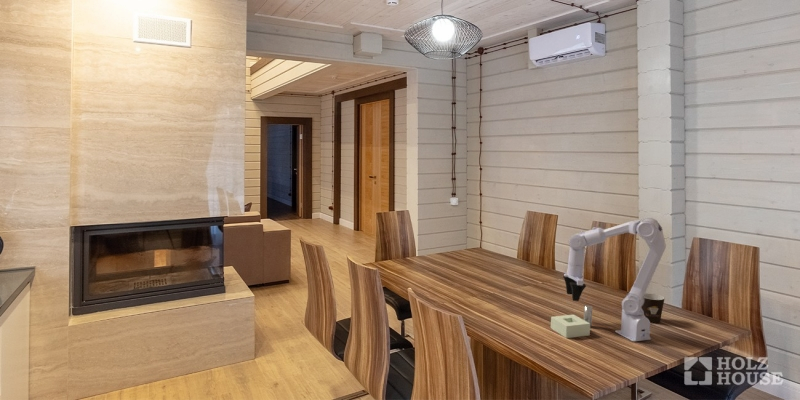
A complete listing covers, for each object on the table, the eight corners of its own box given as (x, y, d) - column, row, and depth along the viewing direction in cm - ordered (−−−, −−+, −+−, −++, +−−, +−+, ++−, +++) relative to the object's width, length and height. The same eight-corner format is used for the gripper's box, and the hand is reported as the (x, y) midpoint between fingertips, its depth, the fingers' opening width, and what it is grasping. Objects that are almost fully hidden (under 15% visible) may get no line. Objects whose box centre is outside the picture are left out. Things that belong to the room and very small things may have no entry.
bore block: (589, 335, 171) (590, 323, 171) (566, 338, 169) (566, 326, 168) (573, 325, 181) (573, 314, 180) (550, 328, 178) (551, 316, 178)
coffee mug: (665, 320, 186) (667, 296, 185) (659, 326, 180) (661, 301, 179) (634, 313, 194) (636, 290, 193) (628, 318, 188) (629, 295, 187)
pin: (593, 327, 179) (594, 307, 178) (586, 328, 178) (587, 307, 178) (588, 324, 182) (589, 304, 181) (581, 325, 181) (582, 305, 180)
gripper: (560, 258, 188) (557, 290, 190) (570, 268, 174) (567, 303, 176) (578, 259, 188) (574, 291, 190) (590, 269, 173) (586, 304, 175)
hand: (572, 297), depth 183 cm, fingers open, 7 cm apart
